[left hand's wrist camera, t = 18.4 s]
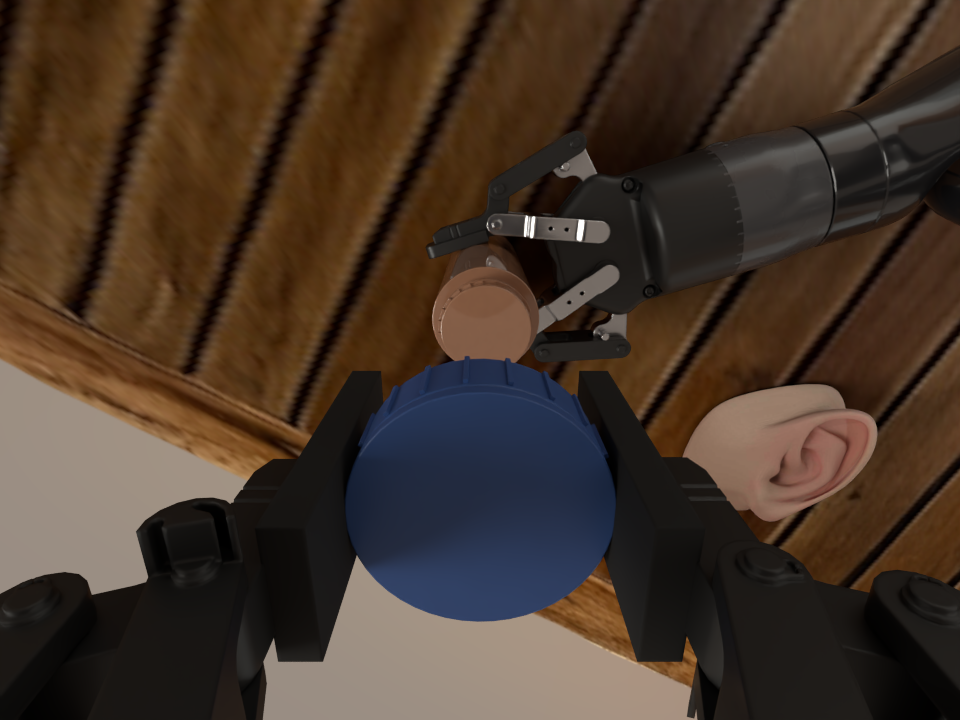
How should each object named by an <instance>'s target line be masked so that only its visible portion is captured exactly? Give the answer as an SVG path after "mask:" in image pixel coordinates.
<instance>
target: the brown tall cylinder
mask: <svg viewBox="0 0 960 720" xmlns="http://www.w3.org/2000/svg"><path fill="white" fill-rule="evenodd" d="M432 323H433V329H434V333H435V336H436V338H437V341H438V343H439V344H440V346H441V347H442V349H443V350H444V351H445V352H446V354H447V355H449V356H450V357H451V358H452V359H453V360H454V361H459V360H464V357H465V356H470V359H495V360H503V361H505V358H510V359H511V362H512V363H515V362H517V361H518V360H519V359H520V358H521V357H522V356H523V355H524V354H525V353H526V352H527V350H528V349H529V348H530V346H531V345H532V343H533V341H534V339H535V337H536V334H537V331H538V326H539V309H538V305H537V302H536V299H535V297H534V294H533V292H532V290H531V287H530V285H529V283H528V280H527V278H526V276H525V273H524V271H523V269H522V266H521V264H520V261H519V259H518V257H517V254H516V252H515V250H514V248H513V246H512V245H511V243H510V242H509V241H508V240H507V239H506V238H504V237H503V236H501V235H494V236H491V237H489V241H488V242H485V243H482V244H478V245H475V246H471V247H469V248H465V249H462V250H459V251H456V252H452V254H451V257H450V260H449V262H448V265H447V268H446V271H445V274H444V277H443V280H442V283H441V286H440V289H439V292H438V295H437V298H436V301H435V304H434V308H433V315H432Z"/></svg>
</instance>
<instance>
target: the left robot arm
mask: <svg viewBox="0 0 960 720" xmlns="http://www.w3.org/2000/svg"><path fill="white" fill-rule="evenodd" d="M578 400H579V402H580V405H581V407H582V409H583V412H584V413H585V415H586V416H587V418H588V420H589V422H590V425H592V424H595V426H596V428H597V431H598V433H599V435H600V437H601V440H602V442H603V444H604V446H605V449H606V451H607V453H608V456H609V458H607V459H605V460H606V462H607V464H608V467H609V469H610V471H611V474H612V477H613V481H614V485H615V489H616V508H615V518H614V527H613V535H612V538H611V541H610V544H609V546H608V549H607V551H606V553H605V554H604V558H605V561H606V564H607V567H608V571H609V574H610V577H611V580H612V583H613V586H614V590H615V593H616V596H617V599H618V602H619V605H620V608H621V612H622V615H623V618H624V621H625V624H626V627H627V630H628V634H629V637H630V640H631V643H632V646H633V649H634V652H635V656H636V659H637V662H682V659H683V654H684V648H685V642H686V637H688V639H689V642H690V644H691V646H692V649H693V651H694V653H695V655H696V658H697V663H696V669H695V674H694V679H693V684H692V690H691V695H690V700H689V706H688V713H687V717H691V718H694V717H695V712H696V710H697V719H698V720H960V591H959V590H957V589H955V588H953V587H951V586H949V585H947V584H945V583H943V582H942V581H940V580H937V579H935V578H932V577H928V576H926V575H922V574H919V573H915V572H908V571H901V570H892V571H885V572H881V573H880V574H879V575H878V576H876V577H875V578H874V580H873V583H872V586H871V589H870V593H867V592H863V591H858V590H854V589H849V588H845V587H840V586H836V585H831V584H827V583H823V582H820V581H816V580H813V578H812V576H811V575H810V573H809V572H808V570H807V569H806V568H805V566H804V565H803V564H802V563H801V562H800V561H798V560H797V559H796V558H794V557H793V556H792V555H791V554H789V553H787V552H785V551H783V550H781V549H779V548H777V547H775V546H773V545H770V544H766V543H762V542H759V540H758V539H757V538H756V536H755V535H754V534H753V532H752V531H751V530H750V528H749V527H748V526H747V524H746V523H745V522H744V520H743V519H742V517H741V516H740V515H739V513H738V512H737V511H736V509H735V508H734V507H733V505H732V504H731V503H730V501H727V497H726V496H725V495H724V493H723V492H722V491H721V489H720V488H718V487H717V484H716V483H715V481H714V480H713V479H712V477H711V476H710V475H709V473H708V472H707V471H706V470H705V469H704V468H702V467H701V466H699V465H698V464H696V463H695V462H693V461H692V460H690V459H689V458H687V457H661V456H660V454H659V452H658V451H657V449H656V448H655V446H654V444H653V443H652V441H651V440H650V438H649V436H648V435H647V433H646V432H645V430H644V428H643V427H642V425H641V424H640V422H639V420H638V419H637V417H636V416H635V414H634V412H633V411H632V409H631V408H630V406H629V404H628V403H627V401H626V400H625V398H624V396H623V395H622V393H621V392H620V390H619V388H618V387H617V385H616V384H615V382H614V380H613V379H612V377H611V376H610V374H609V372H608V371H579V384H578ZM382 405H383V394H382V380H381V371H352V373H351V375H350V376H349V378H348V379H347V381H346V383H345V384H344V386H343V387H342V389H341V391H340V392H339V394H338V395H337V397H336V399H335V400H334V402H333V403H332V405H331V407H330V408H329V410H328V411H327V413H326V415H325V416H324V418H323V419H322V421H321V423H320V424H319V426H318V427H317V429H316V431H315V432H314V434H313V435H312V437H311V439H310V440H309V442H308V443H307V445H306V447H305V448H304V450H303V451H302V453H301V455H300V456H299V458H298V459H273V460H271V461H270V462H268V463H267V464H265V465H264V466H262V467H261V468H259V469H258V470H256V471H255V472H254V473H253V474H252V476H251V477H250V479H249V480H248V481H247V483H246V484H245V485H244V487H243V490H241V491H240V492H239V493H238V495H237V496H236V497H235V499H234V503H231V504H229V503H228V502H227V501H225V500H221V499H217V498H196V499H191V500H187V501H183V502H179V503H176V504H174V505H171V506H169V507H167V508H164V509H162V510H160V511H158V512H157V513H155V514H154V515H152V516H151V517H149V518H148V519H147V520H145V521H144V523H143V524H142V525H141V526H140V527H139V529H138V530H137V531H136V533H137V537H138V540H139V544H140V548H141V552H142V555H143V559H144V563H145V566H146V570H147V574H148V579H147V581H146V582H145V583H142V584H138V585H135V586H131V587H126V588H121V589H117V590H112V591H108V592H104V593H99V594H94V595H92V594H91V591H90V588H89V585H88V582H87V580H85V579H84V578H83V577H82V576H81V575H79V574H74V573H67V572H62V573H55V574H48V575H43V576H40V577H36V578H34V579H30V580H27V581H25V582H22V583H20V584H19V585H17V586H15V587H13V588H11V589H9V590H7V591H5V592H3V593H1V594H0V720H263V711H264V703H265V694H266V685H267V682H266V675H265V669H264V663H263V661H264V659H265V657H266V654H267V652H268V650H269V647H270V645H271V643H272V641H273V638H274V641H275V646H276V652H277V657H278V661H279V662H323V660H324V657H325V654H326V650H327V647H328V644H329V641H330V638H331V634H332V631H333V628H334V625H335V622H336V619H337V616H338V613H339V609H340V606H341V603H342V600H343V597H344V593H345V591H346V587H347V584H348V581H349V578H350V575H351V572H352V569H353V565H354V562H355V559H356V556H357V554H356V552H355V550H354V548H353V545H352V543H351V540H350V537H349V534H348V531H347V523H346V514H345V493H346V486H347V482H348V479H349V475H350V473H351V470H352V467H353V465H354V462H355V460H356V458H357V455H358V453H359V450H360V448H361V447H359V446H358V444H359V441H360V439H361V437H362V434H363V432H364V430H365V428H366V425H367V423H368V421H369V419H370V416H371V414H372V413H374V414H376V413H377V412H378V410H379V409H380V408H381V406H382Z"/></svg>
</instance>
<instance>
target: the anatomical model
mask: <svg viewBox="0 0 960 720" xmlns="http://www.w3.org/2000/svg"><path fill="white" fill-rule="evenodd" d="M876 441H877V427H876V423H875V421H874V419H873V418H872V417H871V416H870V415H868V414H867V413H865V412H862V411H859V410H854V409H846V408H845V404H844V401H843V399H842V397H841V395H840V394H839V392H838V391H837V390H835V389H834V388H833V387H830V386H827V385H821V384H802V385H792V386H784V387H777V388H772V389H766V390H761V391H756V392H752V393H748V394H745V395H741V396H738V397H735V398H732V399H729V400H727V401H725V402H723V403H721V404H719V405H718V406H717V407H715V408H714V409H713V410H711V411H710V412H709V413H708V414H707V415H706V416H705V417H704V419H703V420H702V421H701V422H700V424H699V425H698V427H697V428H696V430H695V431H694V433H693V435H692V436H691V438H690V440H689V443H688V445H687V447H686V449H685V452H684V454H683V457H687V458H689V459H690V460H692V461H693V462H695V463H696V464H698V465H699V466H701V467H702V468H704V469H705V470H706V471H707V472H708V473H709V475H710V476H711V477H712V479H713V480H714V481H715V483H716V484H717V487H718V488H720V489H721V491H722V492H723V493H724V495H725V496H726V497H727V501H730V503H731V504H732V505H733V507H734V508H735V509H736V510H748V509H751V510H752V511H753V512H754V513H755V514H756V515H757V516H758V517H760V518H761V519H763V520H766V521H777V520H779V519H782V518H785V517H787V516H789V515H791V514H793V513H795V512H798V511H800V510H802V509H804V508H806V507H808V506H811V505H813V504H815V503H817V502H819V501H821V500H823V499H825V498H827V497H829V496H831V495H833V494H834V493H836V492H837V491H839V490H840V489H842V488H843V487H845V486H846V485H847V484H848V483H850V482H851V481H852V480H853V479H854V478H855V477H856V476H857V475H858V473H859V472H860V471H861V470H862V469H863V468H864V466H865V465H866V464H867V462H868V461H869V459H870V457H871V455H872V453H873V451H874V448H875V445H876Z"/></svg>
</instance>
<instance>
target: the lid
mask: <svg viewBox="0 0 960 720" xmlns="http://www.w3.org/2000/svg"><path fill="white" fill-rule="evenodd" d="M358 446H359V447H361V448H360V450H359V453H358V455H357V458H356V460H355V462H354V465H353V467H352V470H351V473H350V475H349V479H348V482H347V486H346V493H345V514H346V523H347V531H348V534H349V537H350V540H351V543H352V545H353V548H354V550H355V552H356V554H357V556H358V558H359V559H360V561H361V562H362V564H363V565H364V567H365V568H366V569H367V571H368V572H369V573H370V574H371V575H372V576H373V577H374V579H375V580H376V581H377V582H378V583H380V584H381V585H382V586H383V587H384V588H385V589H386V590H387V591H389V592H390V593H392V594H393V595H395V596H396V597H397V598H399V599H400V600H402V601H404V602H406V603H408V604H410V605H411V606H413V607H415V608H418V609H420V610H423V611H425V612H428V613H431V614H434V615H438V616H441V617H445V618H450V619H456V620H463V621H498V620H505V619H512V618H516V617H520V616H524V615H527V614H530V613H533V612H536V611H539V610H541V609H544V608H546V607H548V606H550V605H552V604H554V603H556V602H557V601H559V600H561V599H562V598H564V597H565V596H567V595H569V594H570V593H571V592H572V591H574V590H575V589H576V588H577V587H579V586H580V585H581V584H582V583H583V582H584V581H585V580H586V579H587V578H588V577H589V576H590V575H591V574H592V572H593V571H594V570H595V568H596V567H597V566H598V564H599V563H600V562H601V560H602V558H603V556H604V554H605V553H606V551H607V549H608V546H609V544H610V541H611V538H612V535H613V527H614V518H615V508H616V489H615V485H614V481H613V477H612V474H611V471H610V469H609V467H608V464H607V462H606V460H605V459H607V458H609V456H608V453H607V451H606V449H605V446H604V444H603V442H602V440H601V437H600V435H599V433H598V431H597V428H596V426H595V424H592V425H590V422H589V420H588V418H587V416H586V415H585V413H584V412H583V409H582V407H581V405H580V402H579V400H578V398H577V396H576V395H575V394H573V395H572V396H571V395H570V394H569V393H568V392H567V391H566V390H565V389H564V388H562V387H561V386H560V385H559V384H557V383H556V382H555V381H553V380H552V379H550V378H549V375H548V373H547V372H545V371H543V372H542V374H541V373H539V372H537V371H535V370H533V369H531V368H528V367H525V366H523V365H520V364H517V363H512V362H511V359H510V358H505V361H503V360H495V359H470V356H465V357H464V360H459V361H453V362H449V363H445V364H442V365H438V366H435V367H433V368H431V366H430V365H429V366H426V367H425V371H424V372H421V373H420V374H418V375H416V376H415V377H413V378H411V379H410V380H408V381H406V382H405V383H404V384H403V385H401V386H400V387H398V386H397V385H396V386H395V387H393V389H392V392H391V394H390V396H389V398H388V399H387V400H386V401H385V402H384V403H383V405H382V406H381V408H380V409H379V410H378V412H377V413H376V414H374V413H372V414H371V416H370V419H369V421H368V423H367V425H366V428H365V430H364V432H363V434H362V437H361V439H360V441H359V444H358Z"/></svg>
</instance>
